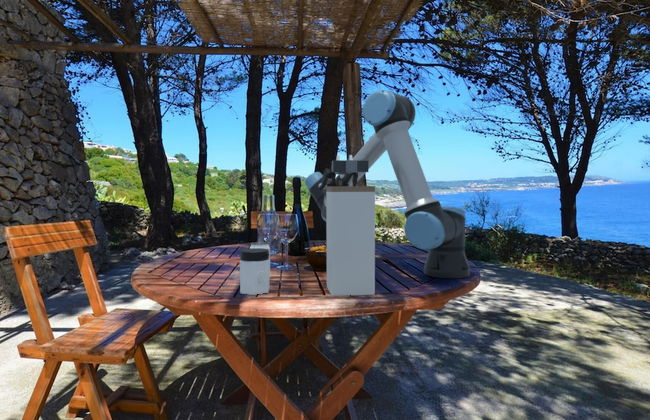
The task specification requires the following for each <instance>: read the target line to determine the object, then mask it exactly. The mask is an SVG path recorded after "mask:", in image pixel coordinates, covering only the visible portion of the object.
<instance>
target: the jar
mask: <svg viewBox="0 0 650 420" xmlns="http://www.w3.org/2000/svg"><path fill="white" fill-rule="evenodd" d="M239 252H240V253H239V254H240V255H239V256H240V260H239V284H240V285H239V289H240V290H239V293H240V294H242V295H246V294H247V295H248V296H258V295H257V294H260V295H264V294H263V293H267V294H269V292H270V279H269V250H268V249H262V248H251V249H250V248H244V249H241V250H240V251H239Z"/></svg>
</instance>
